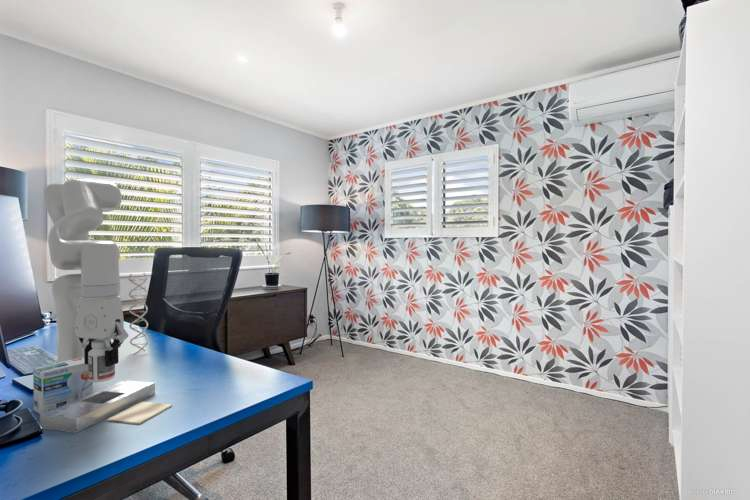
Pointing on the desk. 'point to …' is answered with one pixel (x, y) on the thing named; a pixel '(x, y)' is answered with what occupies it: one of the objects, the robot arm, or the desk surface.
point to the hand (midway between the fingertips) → (101, 363)
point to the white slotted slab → (96, 406)
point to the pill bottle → (99, 363)
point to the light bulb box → (60, 384)
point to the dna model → (140, 311)
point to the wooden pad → (139, 413)
